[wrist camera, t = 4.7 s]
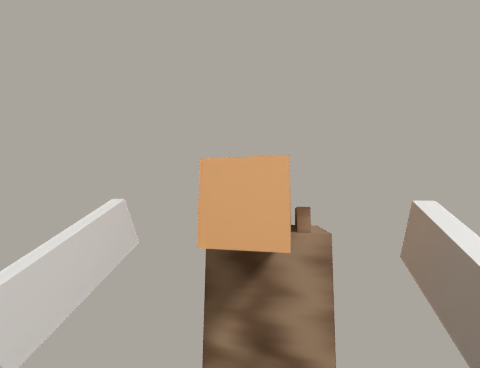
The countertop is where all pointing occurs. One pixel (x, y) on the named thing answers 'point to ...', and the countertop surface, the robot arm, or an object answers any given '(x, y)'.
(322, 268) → the stand
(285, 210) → the light orange bar
